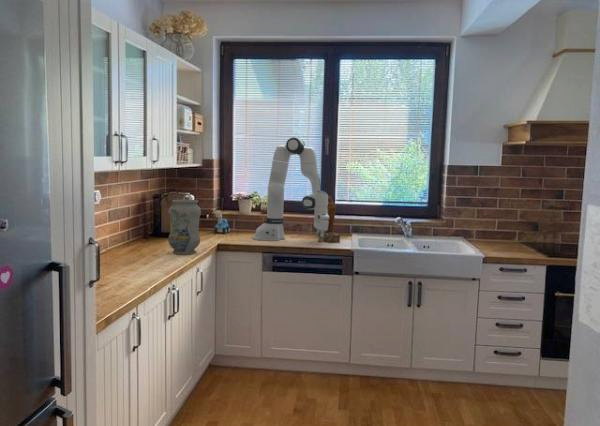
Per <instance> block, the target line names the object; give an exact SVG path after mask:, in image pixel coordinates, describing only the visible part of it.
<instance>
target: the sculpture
mask: <svg viewBox="0 0 600 426" xmlns="http://www.w3.org/2000/svg"><path fill="white" fill-rule="evenodd" d="M337 209H338V205H336V203H335V202H334V201H333V199H332V197H331V196H330V195H328V206H327V210H328V215H329V219H328V221H329V223H328V230H327V231H324V233H334V232H333V231H334V230H333V229H334V223H335V216H336V213H337Z"/></svg>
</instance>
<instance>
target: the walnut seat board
mask: <svg viewBox="0 0 600 426" xmlns="http://www.w3.org/2000/svg"><path fill="white" fill-rule="evenodd" d="M323 240H324V242H326V243H327V242H329V243H340V242H341V234H339V233H336V232H333V233H324V236H323V237H322V241H323Z"/></svg>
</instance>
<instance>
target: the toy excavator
mask: <svg viewBox="0 0 600 426" xmlns="http://www.w3.org/2000/svg"><path fill="white" fill-rule="evenodd" d="M214 215H215V218H217V224H215V227H214V233H215V234H218V233H222V234H227V233H230V232H231V228H230V226H229V224H228V220H227V219H226V218H223V214H222V210H219V209H218V210H216V211H215V214H214Z"/></svg>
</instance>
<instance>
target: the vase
mask: <svg viewBox="0 0 600 426" xmlns="http://www.w3.org/2000/svg"><path fill="white" fill-rule="evenodd" d="M171 202H172V205H171V206H169V207H168V209H167V210H168V215H169V220H170V221H169V223H170V224H169V225H170V231H169V235H168V240H167V241H168V244H169V246H170V247H171V248H172V249H173V251H172V253H173V254H174V255H182V256H183V255H184V256H185V255H194V254H196V252H197V251H196V250H195V249H196V248H198V246H199V245H200V243H201V235H200V234H199V233H200V231H199V229H200V228H199V227H200V226H199V225H200V217H201V214H202V209H201V207H200V206H199V205H198V203H199V200H198V199H173V200H172V201H171Z"/></svg>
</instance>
